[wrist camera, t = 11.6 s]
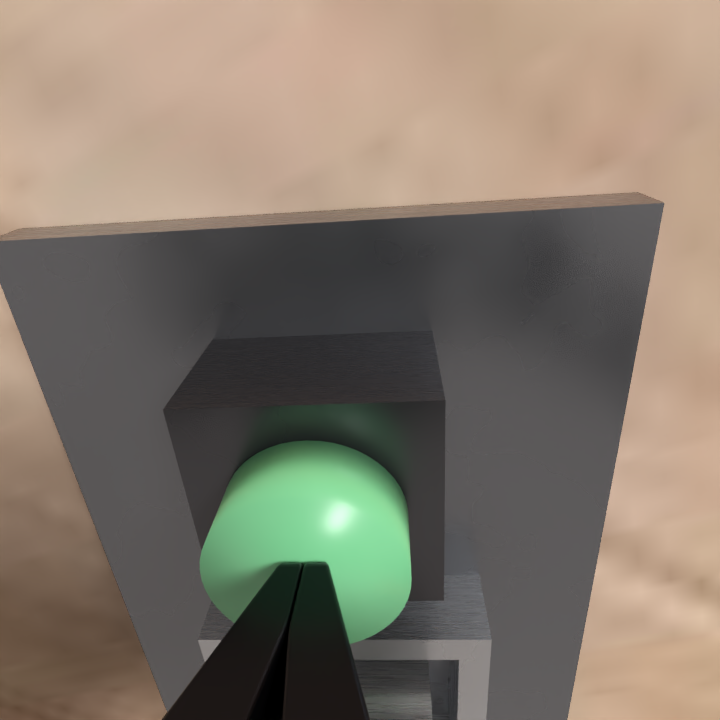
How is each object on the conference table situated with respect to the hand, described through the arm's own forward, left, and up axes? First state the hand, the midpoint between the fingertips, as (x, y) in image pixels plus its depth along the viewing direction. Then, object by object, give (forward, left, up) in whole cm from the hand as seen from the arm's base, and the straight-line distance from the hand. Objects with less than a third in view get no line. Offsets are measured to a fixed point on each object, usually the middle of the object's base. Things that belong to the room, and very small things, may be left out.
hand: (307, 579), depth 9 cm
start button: (0, 0, -2) cm, 2 cm away
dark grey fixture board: (-9, 0, -6) cm, 11 cm away
